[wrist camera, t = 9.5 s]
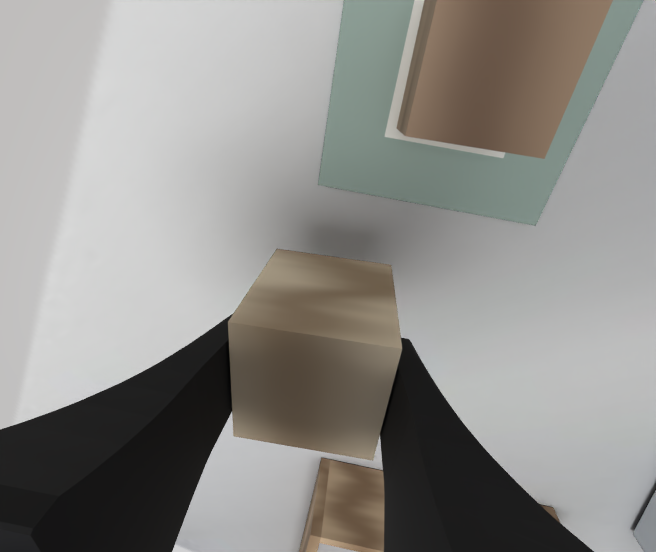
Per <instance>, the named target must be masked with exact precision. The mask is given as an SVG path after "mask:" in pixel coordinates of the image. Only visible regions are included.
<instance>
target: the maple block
mask: <svg viewBox="0 0 656 552" xmlns="http://www.w3.org/2000/svg"><path fill="white" fill-rule="evenodd" d="M228 334H229V354H230V374H231V395H232V415H233V435H234V436H235V437H241V438H247V439H252V440H258V441H264V442H270V443H275V444H281V445H287V446H293V447H298V448H304V449H310V450H316V451H321V452H327V453H333V454H339V455H344V456H350V457H356V458H362V459H367V460H373V458H374V454H375V451H376V447H377V443H378V439H379V435H380V432H381V428H382V424H383V420H384V416H385V413H386V409H387V405H388V401H389V397H390V393H391V390H392V386H393V382H394V378H395V374H396V371H397V367H398V363H399V359H400V355H401V352H402V343H401V336H400V328H399V320H398V313H397V305H396V298H395V290H394V282H393V275H392V267H391V265H389V264H381V263H374V262H367V261H360V260H353V259H346V258H339V257H331V256H324V255H317V254H310V253H303V252H296V251H289V250H281V249H276V251H275V252H274V254H273V255H272V257H271V258H270V260H269V261H268V263H267V264H266V266H265V267H264V269H263V270H262V272H261V273H260V275H259V276H258V278H257V279H256V281H255V282H254V284H253V285H252V287H251V288H250V290H249V291H248V293H247V294H246V296H245V297H244V299H243V300H242V302H241V303H240V305H239V306H238V308H237V309H236V311H235V312H234V314H233V315H232V317H231V318H230V320H229V321H228Z"/></svg>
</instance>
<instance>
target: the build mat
mask: <svg viewBox="0 0 656 552" xmlns="http://www.w3.org/2000/svg"><path fill="white" fill-rule="evenodd" d="M424 1H425V0H344V4H343V11H342V18H341V26H340V33H339V40H338V47H337V54H336V61H335V68H334V75H333V82H332V89H331V96H330V104H329V111H328V118H327V125H326V132H325V139H324V146H323V153H322V160H321V167H320V174H319V182H318V185H321V186H326V187H332V188H337V189H342V190H348V191H353V192H358V193H364V194H369V195H374V196H380V197H385V198H390V199H396V200H401V201H406V202H412V203H417V204H422V205H428V206H433V207H438V208H444V209H449V210H454V211H460V212H465V213H470V214H476V215H481V216H486V217H492V218H497V219H502V220H508V221H513V222H518V223H524V224H529V225H534V226H536V224H537V222H538V220H539V218H540V216H541V213H542V211H543V209H544V207H545V205H546V203H547V201H548V199H549V197H550V195H551V193H552V190H553V188H554V186H555V184H556V182H557V180H558V178H559V176H560V174H561V172H562V170H563V168H564V165H565V163H566V161H567V159H568V157H569V155H570V153H571V151H572V149H573V147H574V145H575V142H576V140H577V138H578V136H579V134H580V132H581V130H582V128H583V126H584V124H585V122H586V120H587V117H588V115H589V113H590V111H591V109H592V107H593V105H594V103H595V101H596V99H597V97H598V95H599V92H600V90H601V88H602V86H603V84H604V82H605V80H606V78H607V76H608V74H609V72H610V69H611V67H612V65H613V63H614V61H615V59H616V57H617V55H618V53H619V51H620V49H621V47H622V44H623V42H624V40H625V38H626V36H627V34H628V32H629V30H630V28H631V26H632V24H633V21H634V19H635V17H636V15H637V13H638V11H639V9H640V7H641V5H642V3H643V1H644V0H613V1H612V4H611V6H610V8H609V11H608V13H607V15H606V18H605V20H604V22H603V25H602V27H601V29H600V32H599V34H598V36H597V39H596V41H595V43H594V45H593V48H592V50H591V52H590V55H589V57H588V59H587V62H586V64H585V66H584V69H583V71H582V73H581V76H580V78H579V80H578V83H577V85H576V87H575V90H574V92H573V94H572V96H571V99H570V101H569V103H568V106H567V108H566V110H565V113H564V115H563V117H562V120H561V122H560V124H559V127H558V129H557V131H556V134H555V136H554V138H553V140H552V143H551V145H550V147H549V150H548V152H547V154H546V157H545V159H542V158H535V157H529V156H523V155H517V154H511V153H505V152H499V151H493V150H487V149H480V148H474V147H468V146H462V145H456V144H450V143H444V142H438V141H431V140H425V139H419V138H413V137H407V136H404V135H403V134H402V133H401V132H400V131H399V130H398V129H397V123H398V119H399V114H400V109H401V105H402V100H403V96H404V91H405V87H406V82H407V77H408V73H409V68H410V64H411V59H412V55H413V50H414V46H415V41H416V36H417V32H418V27H419V23H420V18H421V14H422V9H423V4H424Z"/></svg>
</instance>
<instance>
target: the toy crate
mask: <svg viewBox="0 0 656 552" xmlns="http://www.w3.org/2000/svg"><path fill="white" fill-rule="evenodd" d="M541 506H542V507H543V508H544V509H545V510H546V511H547V512H548V513H549V514H551V515H552V516H553V517H554V518H555V519H556V520H557V521H558V522H559V523H560V521H559V519H558V517H557V515H556V513H555V510H554V508H552V507H548V506H543V505H541ZM319 543H322V544H327V545H331V546H336V547H340V548H345V549H349V550H354V551H358V552H384V476H383V471H381V470H376V469H372V468H367V467H362V466H358V465H353V464H348V463H344V462H339V461H335V460H330V459H325V458H321V462H320V466H319V470H318V475H317V479H316V483H315V487H314V491H313V496H312V500H311V504H310V508H309V512H308V516H307V521H306V525H305V529H304V533H303V537H302V542H301V546H300V550H299V552H317V550H318V546H319Z"/></svg>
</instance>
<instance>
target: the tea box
mask: <svg viewBox="0 0 656 552" xmlns="http://www.w3.org/2000/svg"><path fill="white" fill-rule="evenodd" d="M633 535H634V537H635V538H636V540H637V541H638V543H639V545H640V546H641V548H642V549H643V551H644V552H656V491H655V493H654V494H653V496H652V498H651V500H650V502H649V504H648V506H647V508H646V510H645V511H644V513H643V515H642V517H641V519H640V521H639V523H638V524H637V526H636V528H635V530H634V532H633Z"/></svg>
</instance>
